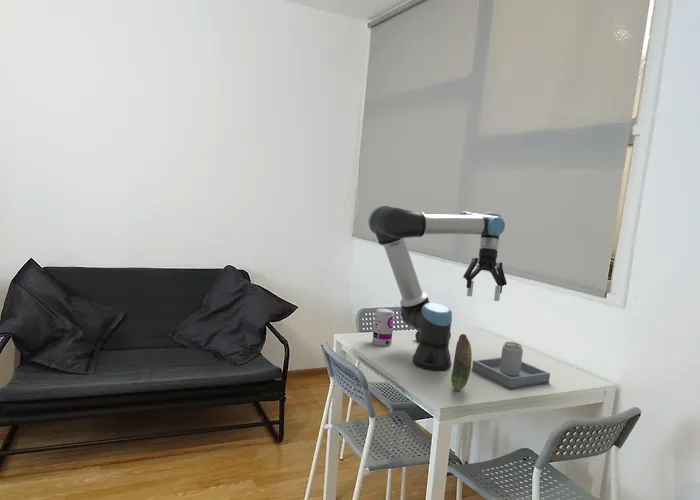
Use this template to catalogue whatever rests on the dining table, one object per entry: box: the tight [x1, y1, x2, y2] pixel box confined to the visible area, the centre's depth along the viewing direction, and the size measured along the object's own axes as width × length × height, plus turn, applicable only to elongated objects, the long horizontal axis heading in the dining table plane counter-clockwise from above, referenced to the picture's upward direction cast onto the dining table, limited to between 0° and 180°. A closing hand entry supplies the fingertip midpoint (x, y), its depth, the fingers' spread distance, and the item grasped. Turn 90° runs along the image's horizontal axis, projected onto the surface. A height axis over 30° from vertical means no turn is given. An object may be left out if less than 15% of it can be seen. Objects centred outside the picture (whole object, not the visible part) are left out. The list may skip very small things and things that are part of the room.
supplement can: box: [372, 307, 395, 347], centre depth 227 cm, size 8×8×15 cm
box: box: [471, 356, 551, 390], centre depth 198 cm, size 20×20×4 cm
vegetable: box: [450, 333, 473, 392], centre depth 179 cm, size 6×6×20 cm
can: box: [500, 341, 524, 377], centre depth 198 cm, size 8×8×12 cm
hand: (483, 298), depth 219 cm, fingers open, 13 cm apart
